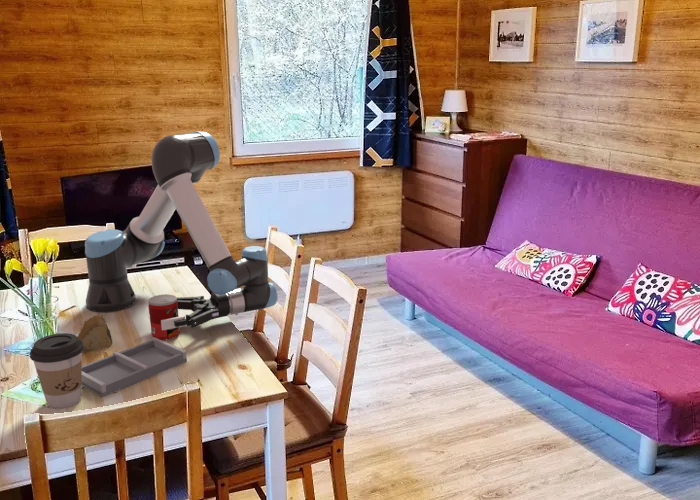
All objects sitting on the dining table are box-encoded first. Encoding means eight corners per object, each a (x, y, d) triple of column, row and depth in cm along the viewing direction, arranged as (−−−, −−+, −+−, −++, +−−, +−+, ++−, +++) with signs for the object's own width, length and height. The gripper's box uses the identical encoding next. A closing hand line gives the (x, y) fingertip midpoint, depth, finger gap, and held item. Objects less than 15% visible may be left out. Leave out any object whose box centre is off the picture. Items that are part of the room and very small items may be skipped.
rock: (67, 352, 170) (106, 344, 172) (63, 321, 173) (102, 313, 175) (79, 360, 180) (116, 352, 182) (75, 331, 183) (112, 323, 185)
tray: (72, 379, 161) (70, 368, 160) (155, 347, 178) (154, 337, 178) (102, 396, 152) (101, 385, 151) (187, 361, 170) (186, 350, 169)
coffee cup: (51, 419, 143) (41, 356, 138) (28, 402, 150) (19, 342, 146) (100, 399, 151) (92, 340, 147) (76, 384, 158) (68, 327, 154)
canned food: (172, 341, 182) (169, 304, 179) (146, 339, 184) (142, 302, 181) (184, 330, 189) (181, 295, 186) (159, 328, 191) (156, 293, 188)
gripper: (243, 328, 185) (168, 345, 174) (213, 302, 205) (145, 315, 195) (241, 304, 183) (166, 319, 172) (211, 279, 203) (142, 292, 193)
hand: (154, 317), depth 184 cm, fingers open, 13 cm apart
